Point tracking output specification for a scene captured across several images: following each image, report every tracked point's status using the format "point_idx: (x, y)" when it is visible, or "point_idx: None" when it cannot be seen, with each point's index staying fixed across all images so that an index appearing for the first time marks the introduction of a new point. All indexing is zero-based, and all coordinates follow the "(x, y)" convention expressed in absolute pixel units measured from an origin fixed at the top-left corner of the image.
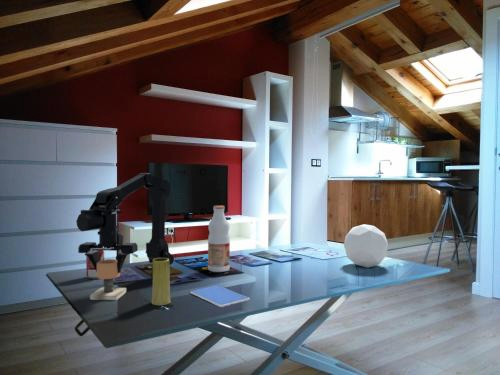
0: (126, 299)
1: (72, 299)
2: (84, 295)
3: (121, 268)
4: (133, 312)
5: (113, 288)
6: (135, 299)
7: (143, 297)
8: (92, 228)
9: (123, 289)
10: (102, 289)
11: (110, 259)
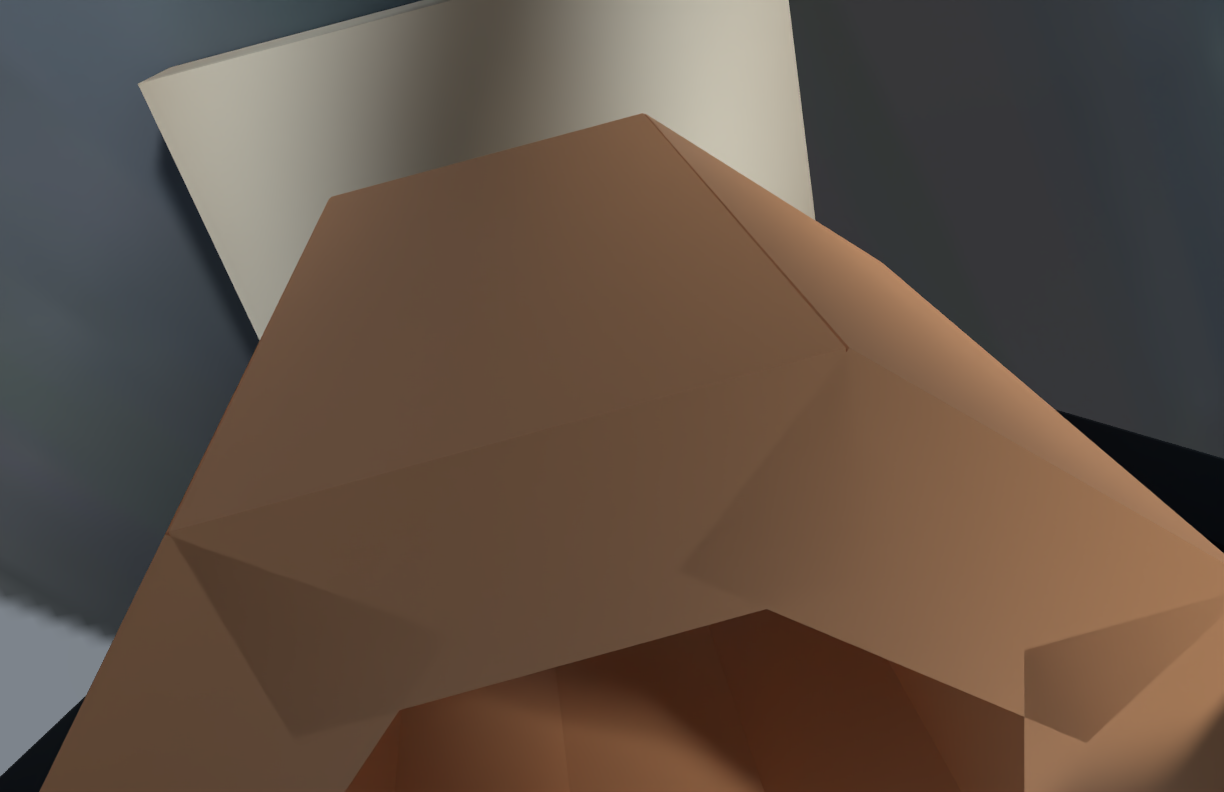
0: (957, 324)
1: (94, 614)
2: (74, 399)
3: (1108, 438)
4: None
5: (501, 69)
6: (1105, 275)
7: (1215, 133)
8: None
9: (780, 68)
10: (313, 229)
11: (341, 494)
